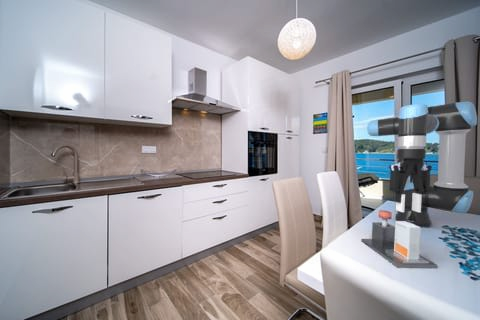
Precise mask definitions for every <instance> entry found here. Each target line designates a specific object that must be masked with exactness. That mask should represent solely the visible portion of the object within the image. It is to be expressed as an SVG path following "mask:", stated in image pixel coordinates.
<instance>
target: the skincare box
mask: <svg viewBox="0 0 480 320" xmlns="http://www.w3.org/2000/svg"><path fill="white" fill-rule="evenodd" d="M394 227H395V241H394V251H396V252H397V253H399V254H400V255H402V256H403V257H405V258H407V259H408V260H417V259H419V255H420V248H421V247H420V244H421V229H422V227H419V226H416V225H414V224H412V223H409V222H406V221H397V220H395V225H394Z"/></svg>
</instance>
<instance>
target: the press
mask: <svg viewBox="0 0 480 320" xmlns="http://www.w3.org/2000/svg"><path fill="white" fill-rule="evenodd" d="M371 225H372V227H371V238H361V239H360V240H361V242H362V243H363V244H364V245H365V246H366V247H368V248H370V249H371V250H372V251H374V252H375V253H376V254H378V255H379V256H381V257H382V258H383V259H385V260H386V261H387V260H388V261H387V262H389V263H390V264H391V263H392V266H394V267H396V268H397V269H438V264H437V263H435V262H433V261H432V260H430V259H428V258H426V257H424V256H423V255H421V254H419V259H417V260H408V259H407V258H405V257H403V256H402V255H400V254H399V253H397V252H396V251H394V241H395V225H393V224H391V223H388V222H387V226H382V221H381V222H379V221H378V222H374V221H373V222H372V224H371Z"/></svg>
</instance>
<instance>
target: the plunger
mask: <svg viewBox="0 0 480 320" xmlns="http://www.w3.org/2000/svg"><path fill="white" fill-rule="evenodd" d="M392 214H393V213H392V212H391V211H389V210H388V211H387V210H381V209H380V210H378V218H380V219H381V222H382V226H387V223H388V220H392V216H393V215H392Z"/></svg>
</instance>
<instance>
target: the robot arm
mask: <svg viewBox="0 0 480 320" xmlns="http://www.w3.org/2000/svg"><path fill="white" fill-rule="evenodd" d="M398 113H399V114H398V115H396V116H391V117H387V118H380V119H373V120H370V121H369V122H368V123H367V126H366V127H367V131H366V132H367V135H369V136H370V137H384V136H385V137H386V136H397V147H398V149H397V153H396V158H397V159H398V161H397V163H395V164H390V165H389V170H390V176H389V189H388V190H389V191H390V192H392V193H394V202H396V203H395V211H397V212H396V214H395V221H406V222H409V223H412V224H414V225H416V226H419V227H421V228H431V227H432V220H431V219H430V214H429V212H428V211H429V208H431V209H436V210H441V211H446V212H451V213H458V214H466V213H467V212H469V209H470V208H471V206H472V202H473V198H474V191H473V190H470V189H469V186H468V185H467V184H466V183H465V164H466V163H465V157H466V156H465V155H466V140H467V139H466V138H467V137H466V136H467V133H469V132H470V131H471V130H472V127H474V126H477V124H478V115H477V110H476V107H475V105H474V103H473V102H471V101H460V102H459V101H458V102H453V103H452V102H451V103H447V104H446V103H445V104H439V105H433V106H428V104H426V103H414V104H407V105H403V106H402V107H400V109H399V112H398ZM433 132H435V133H436V134H438V136H439V138H438V139H439V140H438V161H437V162H438V164H437V166H438V167H437V169H438V171H437V181H435V182H434V183H433V185H432V186H431V183H430V182H431V172H432V171H431V170H432V165H427V164H425V163H424V160H425V159H426V152H427V151H426V150H427V149H425V148H426V147H427V135H428V134H431V133H433ZM410 176H411V180H412V181H411V182H407V181H408V179H409V177H410Z"/></svg>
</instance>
